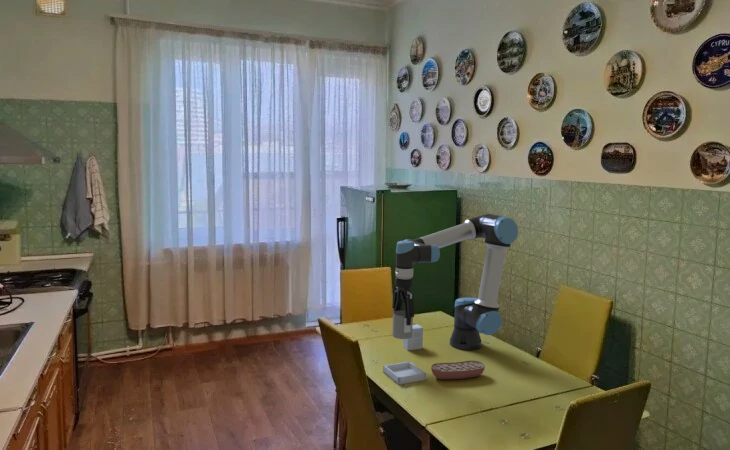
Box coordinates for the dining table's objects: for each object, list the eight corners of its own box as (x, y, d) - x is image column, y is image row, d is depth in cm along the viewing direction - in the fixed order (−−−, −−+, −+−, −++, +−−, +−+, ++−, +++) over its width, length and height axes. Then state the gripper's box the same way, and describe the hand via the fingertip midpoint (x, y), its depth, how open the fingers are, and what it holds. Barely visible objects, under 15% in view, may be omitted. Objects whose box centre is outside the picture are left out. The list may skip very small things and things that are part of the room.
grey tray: (409, 367, 236) (409, 361, 236) (425, 379, 224) (425, 372, 223) (383, 372, 231) (383, 365, 230) (398, 384, 219) (398, 377, 218)
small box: (418, 345, 265) (418, 324, 263) (422, 349, 259) (423, 327, 258) (402, 346, 262) (403, 325, 261) (407, 350, 257) (407, 329, 256)
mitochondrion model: (478, 370, 235) (478, 359, 234) (488, 380, 225) (489, 368, 224) (427, 375, 229) (428, 363, 229) (436, 384, 220) (436, 372, 219)
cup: (409, 340, 231) (410, 316, 230) (390, 337, 233) (391, 315, 232) (413, 333, 239) (414, 311, 238) (394, 331, 241) (395, 309, 240)
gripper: (385, 272, 241) (384, 322, 244) (407, 283, 222) (405, 337, 225) (400, 271, 244) (399, 321, 247) (424, 282, 225) (421, 335, 228)
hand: (402, 329), depth 236 cm, fingers closed on cup, 8 cm apart
